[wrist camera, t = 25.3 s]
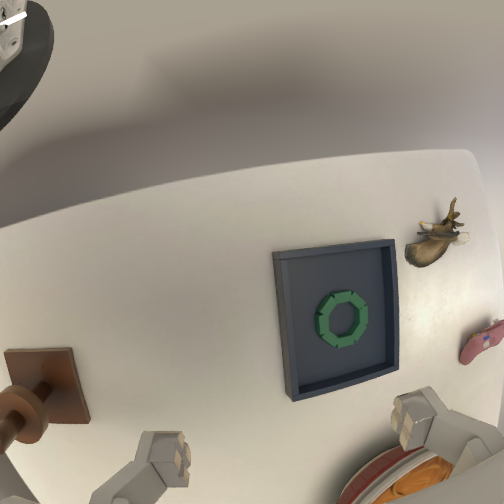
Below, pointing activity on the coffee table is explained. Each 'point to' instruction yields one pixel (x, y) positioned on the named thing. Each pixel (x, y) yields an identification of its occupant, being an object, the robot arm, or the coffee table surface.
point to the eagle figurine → (436, 240)
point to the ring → (327, 308)
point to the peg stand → (39, 394)
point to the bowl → (395, 476)
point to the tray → (336, 315)
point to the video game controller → (482, 341)
